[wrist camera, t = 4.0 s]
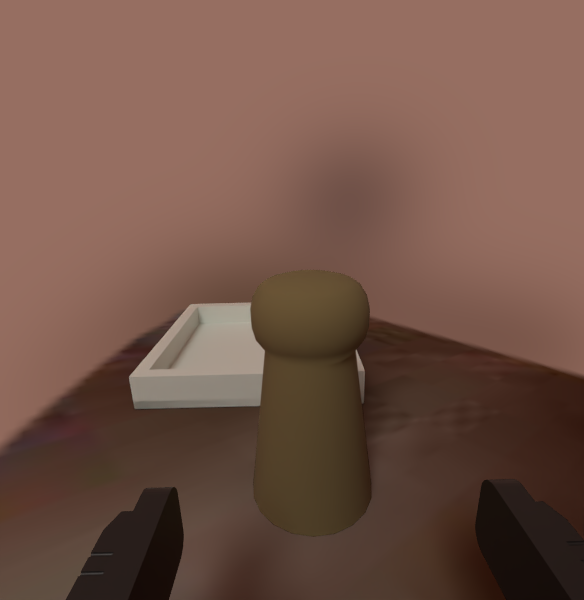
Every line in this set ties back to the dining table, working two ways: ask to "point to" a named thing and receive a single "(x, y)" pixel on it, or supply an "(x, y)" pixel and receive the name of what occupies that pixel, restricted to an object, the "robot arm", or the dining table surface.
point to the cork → (311, 402)
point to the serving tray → (206, 362)
